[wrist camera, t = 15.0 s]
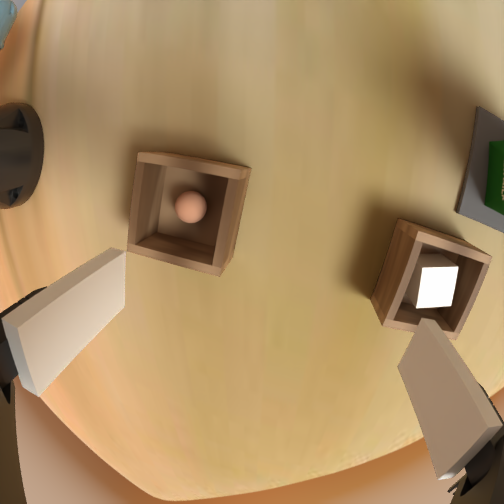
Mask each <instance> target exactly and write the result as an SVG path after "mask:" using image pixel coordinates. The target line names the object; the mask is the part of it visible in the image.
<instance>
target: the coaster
mask: <svg viewBox="0 0 504 504" xmlns="http://www.w3.org/2000/svg"><path fill="white" fill-rule="evenodd" d="M501 140H504V121H503V120H501V119H500V118H498V117H497V116H495V115H493V114H492V113H490V112H488V111H487V110H485V109H483V108H481V107H480V106H479V107H477V109H476V118H475V125H474V132H473V139H472V145H471V150H470V156H469V161H468V166H467V171H466V175H465V180H464V184H463V188H462V192H461V196H460V200H459V204H458V208H457V211H456V213H458V214H461V215H463V216H466V217H468V218H471V219H473V220H475V221H478V222H480V223H482V224H485V225H487V226H489V227H492V228H494V229H496V230H498V231H501V232H503V233H504V215H502V214H500V213H498V212H496V211H494V210H492V209H491V208H489V207H487V206H485V205H484V204H485V196H486V186H487V175H488V160H489V142H490V141H501Z"/></svg>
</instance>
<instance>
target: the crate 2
mask: <svg viewBox="0 0 504 504" xmlns="http://www.w3.org/2000/svg"><path fill="white" fill-rule="evenodd" d="M419 254H442V255H444V256H445V257H446V258H448V259H449V260H450V261H452V262H453V263H454V264H456V265H457V266H458V272H457V278H456V284H455V289H454V294H453V299H452V304H451V306H443V307H429V308H416V307H415V306H414V305H413V303H412V302H411V300H410V299H409V298H408V296H407V295H406V293H405V291H406V289H407V286H408V284H409V281H410V278H411V276H412V273H413V270H414V268H415V265H416V262H417V259H418V257H419ZM491 259H492V256H490V255H488V254H487V253H485V252H484V251H482V250H480V249H478V248H477V247H475V246H473V245H472V244H470V243H468V242H467V241H464V240H461V239H459V238H456V237H453V236H450V235H447V234H445V233H442V232H439V231H436V230H433V229H430V228H427V227H424V226H421V225H418V224H415V223H412V222H409V221H406V220H403V219H400V218H398V220H397V223H396V227H395V230H394V233H393V237H392V240H391V243H390V246H389V249H388V252H387V255H386V258H385V261H384V264H383V267H382V270H381V272H380V275H379V278H378V281H377V283H376V286H375V289H374V291H373V294H372V297H371V299H370V300H371V303H372V305H373V307H374V309H375V311H376V313H377V316H378V318H379V320H380V322H381V324H382V326H383V327H388V328H393V329H398V330H403V331H408V332H414V333H415V331H416V329H417V327H418V325H419V322H420V320H421V318H426V319H431V320H435V321H436V322H437V324H438V325H439V327H440V328H441V329H442V331H443V332H444V333H445V335H446V336H447V338H448V339H452V340H456V339H457V337H458V335H459V334H460V332H461V330H462V328H463V326H464V324H465V321H466V319H467V317H468V315H469V313H470V311H471V309H472V307H473V304H474V302H475V300H476V297H477V295H478V293H479V290H480V288H481V286H482V283H483V281H484V278H485V275H486V273H487V270H488V268H489V265H490V262H491Z"/></svg>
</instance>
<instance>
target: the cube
mask: <svg viewBox="0 0 504 504" xmlns="http://www.w3.org/2000/svg"><path fill="white" fill-rule="evenodd" d="M457 272H458V266H457V265H456V264H454V263H453V262H452V261H450V260H449V259H448V258H446V257H445V256H444V255H442V254H419V257H418V259H417V262H416V265H415V268H414V270H413V273H412V276H411V278H410V281H409V284H408V286H407V289H406V291H405V293H406V295H407V296H408V298H409V299H410V300H411V302H412V303H413V305H414V306H415V307H416V308H429V307H443V306H451V304H452V299H453V294H454V289H455V284H456V278H457Z"/></svg>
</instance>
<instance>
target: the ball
mask: <svg viewBox="0 0 504 504" xmlns="http://www.w3.org/2000/svg"><path fill="white" fill-rule="evenodd" d="M206 211H207V203H206V200H205V198H204V197H203V196H202V195H201V194H200V193H198V192H195V191H187V192H184V193H182V194H181V195H180V196H179V197H178V198H177V200H176V203H175V212H176V214H177V216H178V217H179V219H181V220H182V221H184V222H186V223H195V222H198V221H200V220H201V219H202V218H203V217H204V215H205V213H206Z"/></svg>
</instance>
